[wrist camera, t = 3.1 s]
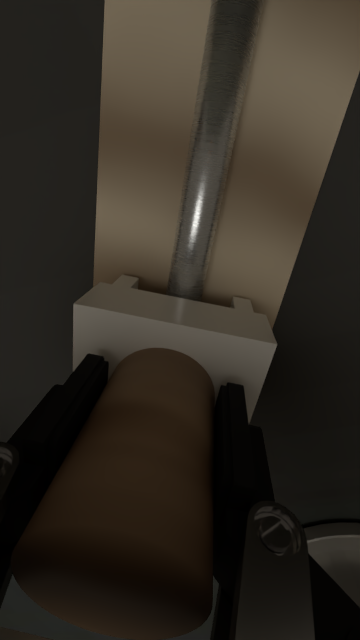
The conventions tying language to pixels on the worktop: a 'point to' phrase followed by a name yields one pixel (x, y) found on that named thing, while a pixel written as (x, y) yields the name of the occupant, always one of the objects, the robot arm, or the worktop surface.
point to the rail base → (217, 140)
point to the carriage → (142, 464)
